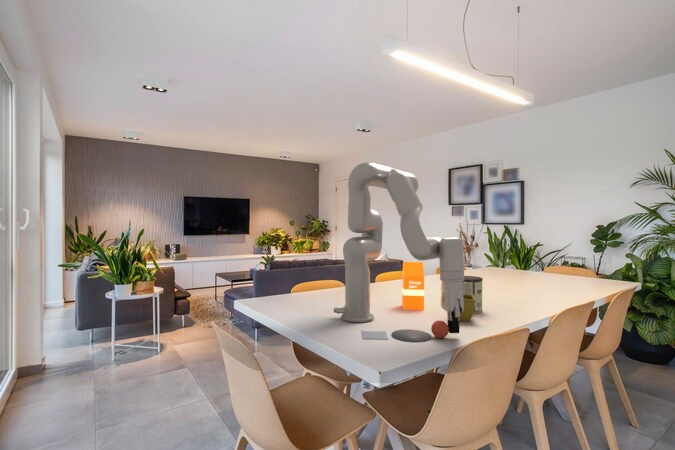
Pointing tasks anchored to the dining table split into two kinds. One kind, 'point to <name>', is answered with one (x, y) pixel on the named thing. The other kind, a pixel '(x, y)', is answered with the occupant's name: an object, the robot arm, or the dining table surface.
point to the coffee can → (473, 290)
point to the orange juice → (413, 285)
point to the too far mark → (374, 335)
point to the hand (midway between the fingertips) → (453, 332)
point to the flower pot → (467, 308)
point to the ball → (440, 329)
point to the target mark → (411, 335)
